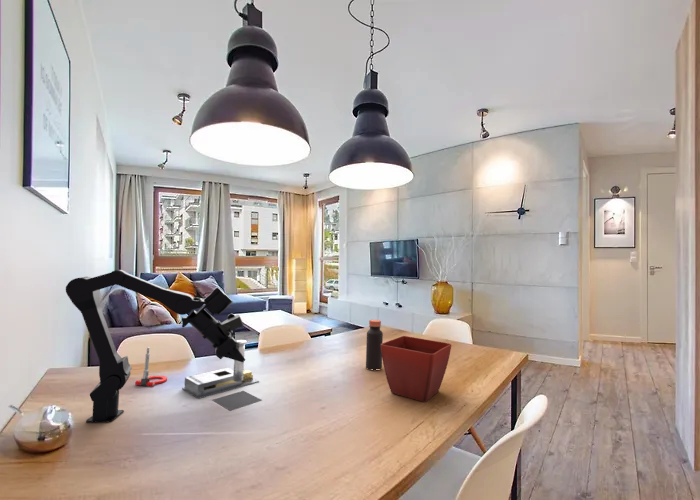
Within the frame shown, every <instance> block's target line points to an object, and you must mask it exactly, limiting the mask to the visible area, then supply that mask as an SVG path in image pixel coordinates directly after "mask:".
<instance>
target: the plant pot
mask: <svg viewBox="0 0 700 500" xmlns="http://www.w3.org/2000/svg"><path fill="white" fill-rule="evenodd" d="M451 350H452V343H449V342H444V341H443V342H442V341H438V340H430V339H424V338H421V337H420V338H419V337H414V336H407V335H403V336H398V337H396V338H393V339H391V340H387V341H385V342H382V344H381V353H382V366H383V368H384V369H383V370H384V374H385V377H386V381H387V384H388V387H389V390H390V392H391V393H392V394H395V395H398V396H401V397H405V398H408V399H412V400H416V401H419V402H422V403H423V402H427V401H429V400H430V399H431V398H432V397H433V396H435V395H436V394H437V393H439V391H440V388H441V387H442V386H441V385H442V382H443V380H444V377H445V374H446V372H447V367H448V363H449V359H450V357H451V356H450V355H451Z"/></svg>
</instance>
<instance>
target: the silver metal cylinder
mask: <svg viewBox="0 0 700 500" xmlns="http://www.w3.org/2000/svg"><path fill="white" fill-rule="evenodd" d="M235 340H236V341H237V345H236V347H237V348H238V350H239V351H240V353H241V354H242V355H243V357H244V358H245V350H246V349H245V348H246V347H245V345H246V344H247V340H246V339H235ZM244 367H245V361H244V362H240V361H236V360H233V370H234V373H233V381H236V382H238V381H242V380H243V373H244V370H245V368H244Z"/></svg>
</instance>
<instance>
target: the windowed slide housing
mask: <svg viewBox="0 0 700 500" xmlns="http://www.w3.org/2000/svg"><path fill="white" fill-rule="evenodd" d="M233 373H234V369H232V368H230V367H226V368H220V369H216V370H212V371H208V372H203V373H198V374H194V375H190V376H189V375H188V376H185V377H184V386H182V387H181V389H182V390H183V391H184V392H186V393H188V394H189V395H191V396H192V397H195V398H196V399H198V400H200V399H204V398H206V397H207V398H208V397H211V396H215V395H218V394H223V393H226V392H229V391H232V390H236V389H239V388H240V389H241V388H243V387H247V386H250V385H254V384H257V383H259V382H260V381H259V379H255V378H254V374H253V372H252V371H251V370H249V369H244V373H243V380H242V381H238V382H236V381H233Z"/></svg>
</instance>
